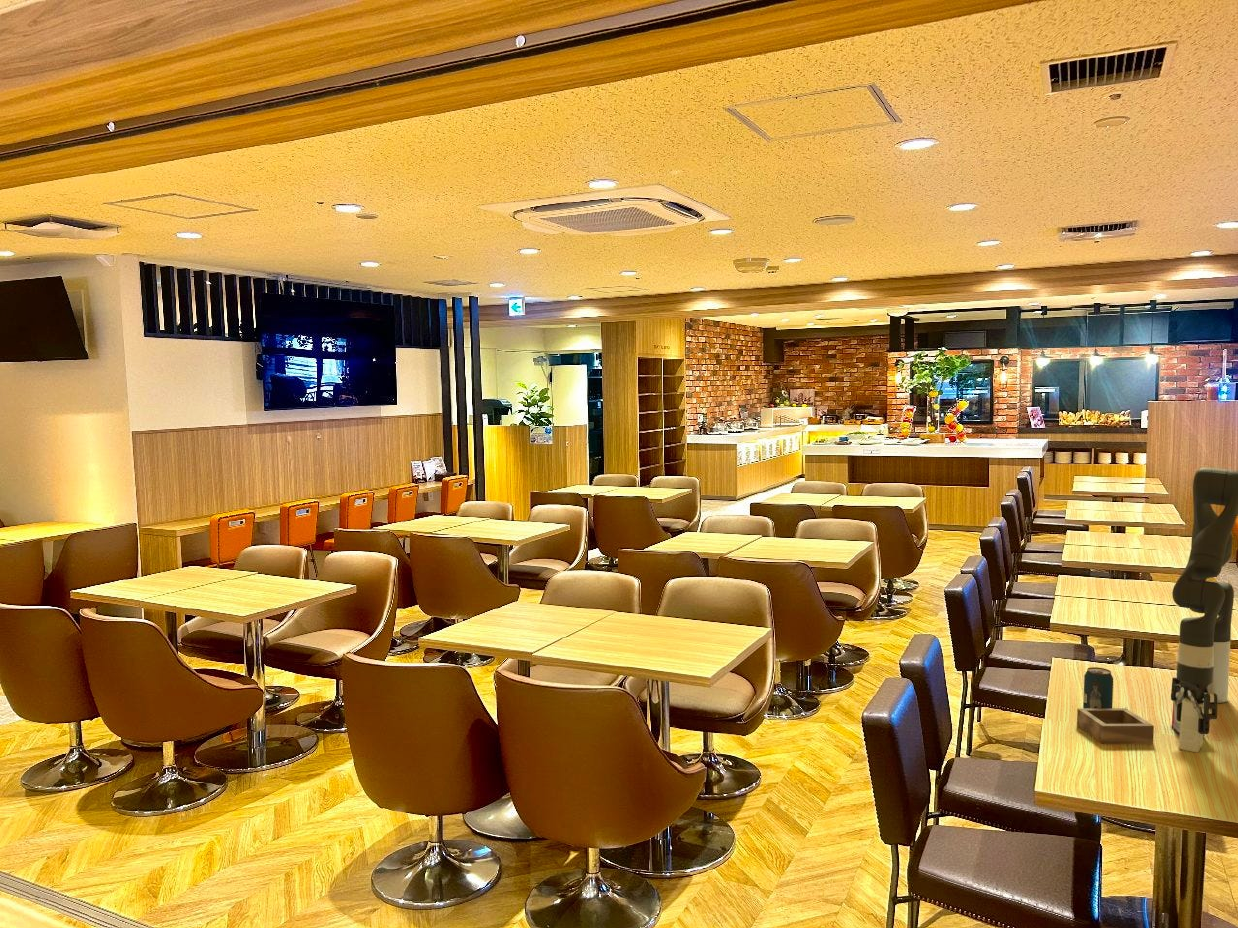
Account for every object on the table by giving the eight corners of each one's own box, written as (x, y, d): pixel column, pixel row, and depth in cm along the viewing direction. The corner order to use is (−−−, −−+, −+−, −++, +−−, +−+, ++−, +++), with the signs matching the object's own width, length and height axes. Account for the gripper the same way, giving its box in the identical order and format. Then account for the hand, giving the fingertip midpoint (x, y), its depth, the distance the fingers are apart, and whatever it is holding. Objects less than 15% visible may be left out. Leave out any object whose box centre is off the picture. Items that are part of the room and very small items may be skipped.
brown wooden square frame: (1076, 725, 242) (1077, 708, 242) (1125, 724, 242) (1125, 708, 242) (1102, 743, 230) (1102, 725, 229) (1153, 743, 230) (1153, 725, 229)
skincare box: (1182, 741, 231) (1184, 693, 230) (1203, 746, 228) (1206, 697, 227) (1177, 749, 226) (1180, 700, 225) (1199, 753, 223) (1201, 704, 222)
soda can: (1105, 709, 254) (1107, 666, 253) (1116, 718, 247) (1118, 674, 246) (1078, 709, 254) (1080, 666, 253) (1089, 718, 247) (1090, 673, 246)
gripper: (1230, 670, 218) (1226, 738, 219) (1192, 653, 232) (1189, 717, 233) (1198, 670, 218) (1195, 738, 219) (1162, 653, 232) (1159, 717, 233)
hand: (1192, 727), depth 226 cm, fingers open, 8 cm apart
